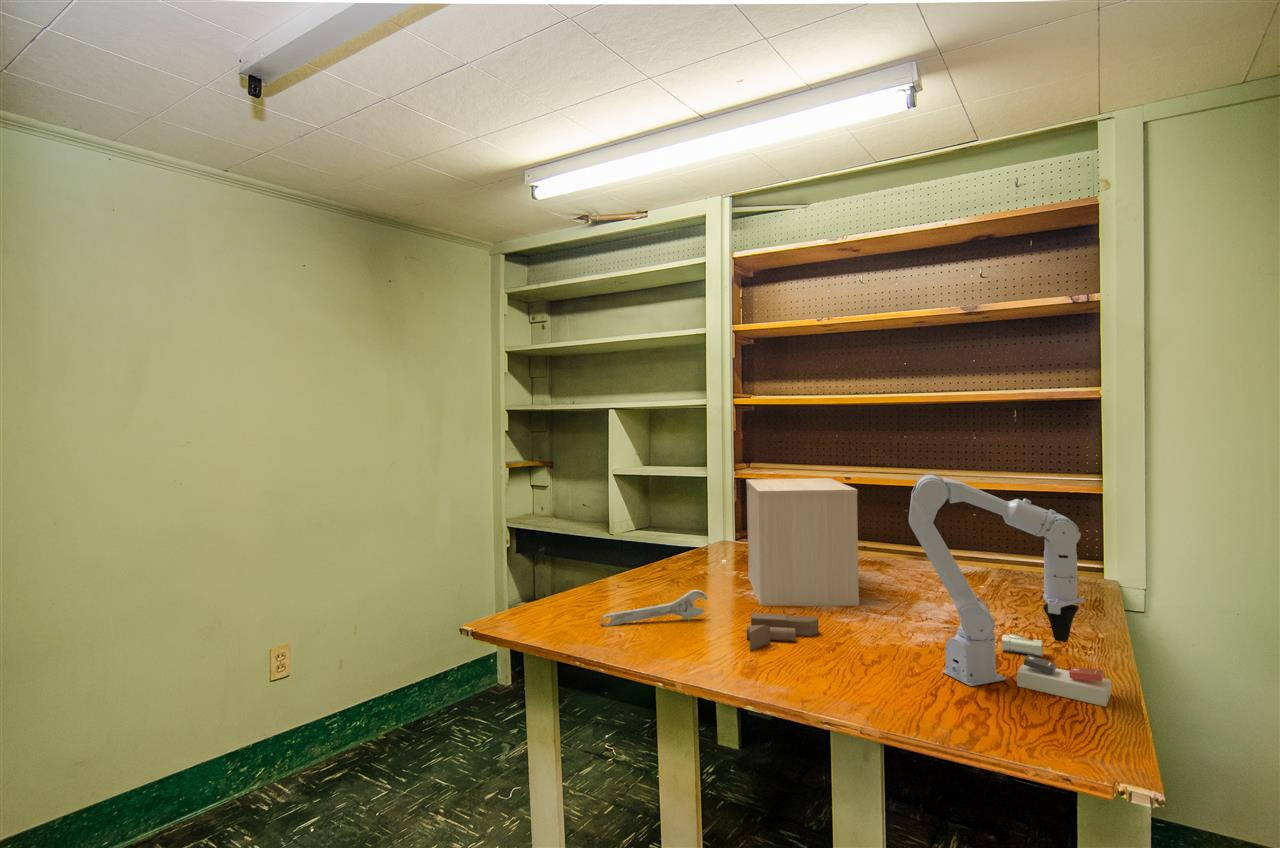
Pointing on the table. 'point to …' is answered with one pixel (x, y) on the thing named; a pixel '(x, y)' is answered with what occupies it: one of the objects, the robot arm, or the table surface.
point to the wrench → (660, 610)
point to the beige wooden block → (802, 542)
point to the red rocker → (1086, 674)
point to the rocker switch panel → (1065, 685)
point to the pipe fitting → (1022, 645)
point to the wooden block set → (779, 628)
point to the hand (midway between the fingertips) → (1061, 640)
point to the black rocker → (1040, 664)
